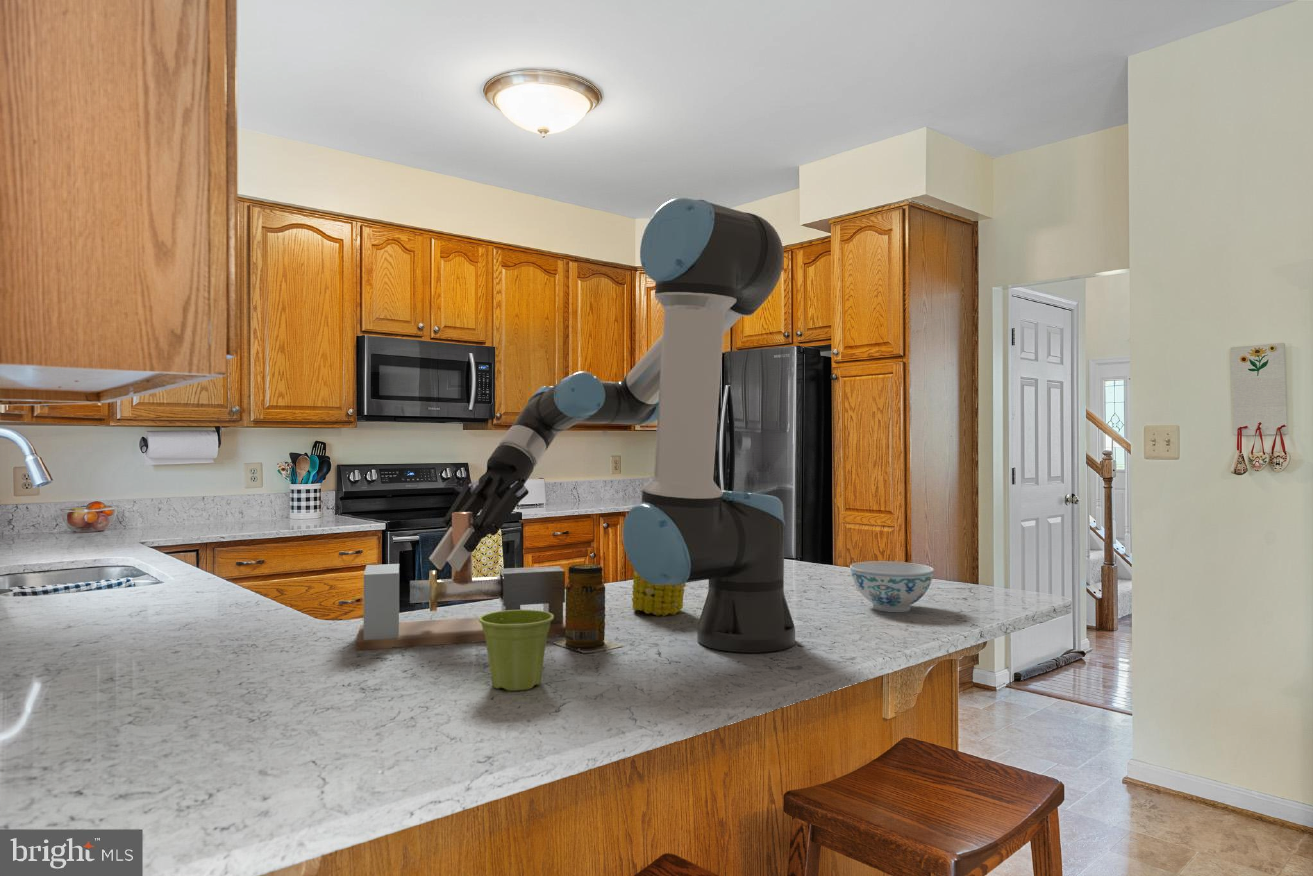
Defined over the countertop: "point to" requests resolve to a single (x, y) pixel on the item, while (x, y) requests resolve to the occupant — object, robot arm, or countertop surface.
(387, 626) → the socket block
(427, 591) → the tube
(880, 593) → the chinaware
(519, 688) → the plant pot
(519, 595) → the grey concrete block
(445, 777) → the countertop surface
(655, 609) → the food
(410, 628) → the base board
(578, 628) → the condiment
